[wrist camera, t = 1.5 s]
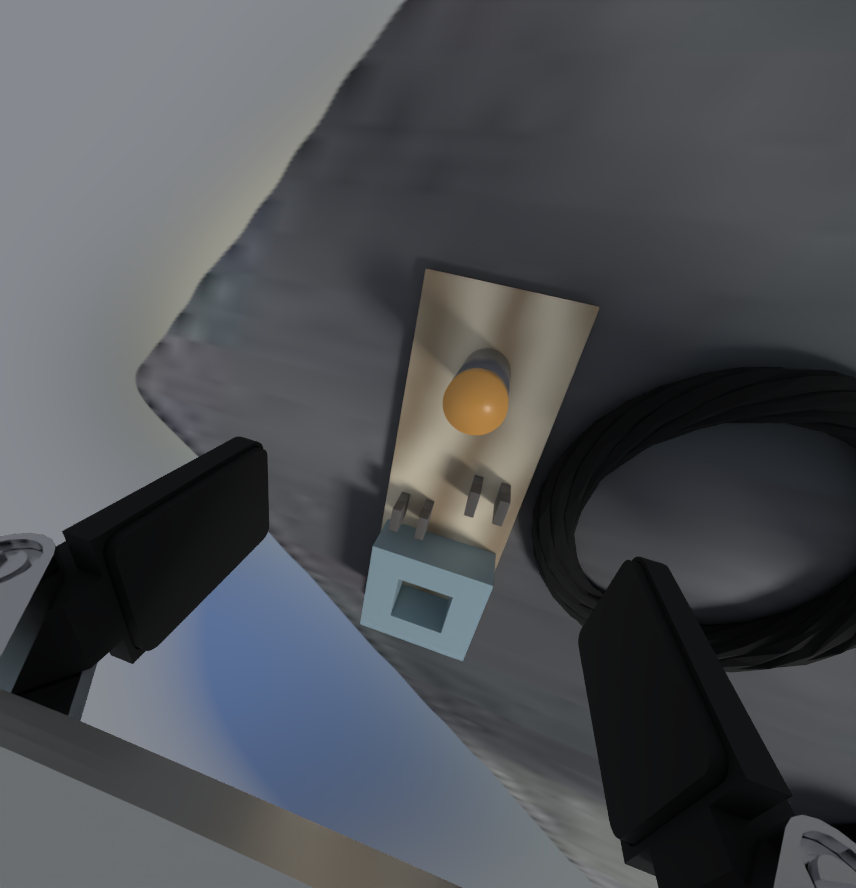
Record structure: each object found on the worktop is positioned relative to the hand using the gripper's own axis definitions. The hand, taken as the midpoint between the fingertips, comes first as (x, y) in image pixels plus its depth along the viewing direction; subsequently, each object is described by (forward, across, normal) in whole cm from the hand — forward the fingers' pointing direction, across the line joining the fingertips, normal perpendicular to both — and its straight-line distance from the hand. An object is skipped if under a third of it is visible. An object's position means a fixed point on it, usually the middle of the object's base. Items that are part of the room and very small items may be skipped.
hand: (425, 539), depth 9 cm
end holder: (+19, 0, +22) cm, 29 cm away
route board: (+20, 0, +12) cm, 24 cm away
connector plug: (+19, 0, 0) cm, 19 cm away
